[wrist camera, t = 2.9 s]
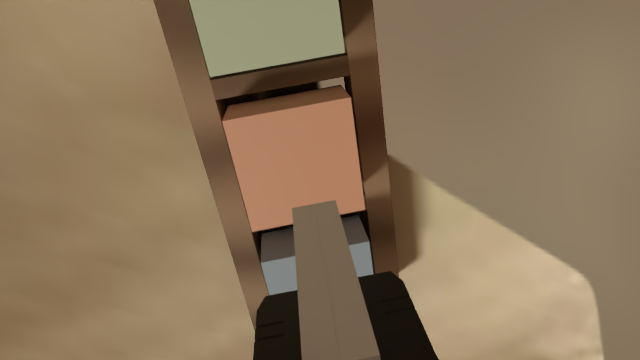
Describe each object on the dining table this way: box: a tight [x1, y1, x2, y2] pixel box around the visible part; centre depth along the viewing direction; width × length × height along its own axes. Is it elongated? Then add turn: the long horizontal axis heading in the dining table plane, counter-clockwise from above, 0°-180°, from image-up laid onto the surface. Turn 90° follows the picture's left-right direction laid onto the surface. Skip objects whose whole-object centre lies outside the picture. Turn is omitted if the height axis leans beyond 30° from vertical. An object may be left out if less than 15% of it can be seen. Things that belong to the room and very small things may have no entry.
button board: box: [154, 0, 399, 329], centre depth 23 cm, size 24×10×2 cm, turn 9°
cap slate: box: [261, 215, 373, 295], centre depth 24 cm, size 6×6×3 cm
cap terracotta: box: [222, 85, 365, 232], centre depth 21 cm, size 6×6×3 cm
